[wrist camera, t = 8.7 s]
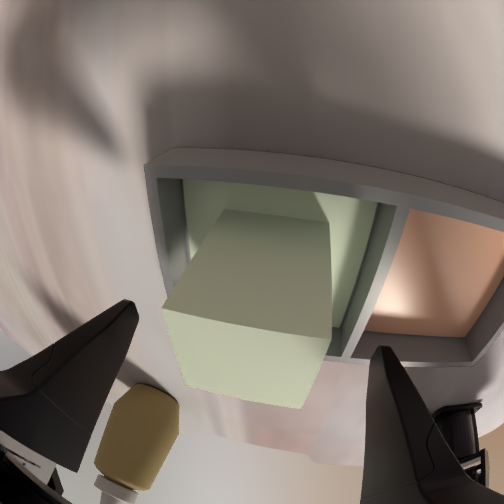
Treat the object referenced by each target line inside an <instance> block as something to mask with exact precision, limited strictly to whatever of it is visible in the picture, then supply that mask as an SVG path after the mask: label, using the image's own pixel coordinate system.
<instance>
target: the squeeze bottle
mask: <svg viewBox="0 0 504 504" xmlns="http://www.w3.org/2000/svg"><path fill="white" fill-rule="evenodd" d="M178 434H179V405H178V403H177V402H176V401H175V400H174V399H173V398H172V397H170V396H169V395H167V394H165V393H164V392H162V391H160V390H158V389H155V388H153V387H150V386H147V385H144V384H136V385H134V386H133V387H132V388H131V389H130V390H128V391H127V392H126V393H125V394H124V395H123V396H122V397H121V398H120V399H118V400H117V401H116V402H115V403H114V406H113V409H112V411H111V414H110V417H109V420H108V422H107V426H106V428H105V431H104V434H103V437H102V440H101V443H100V446H99V449H98V452H97V455H96V458H95V461H94V464H95V466H96V468H97V469H98V470H99V471H100V472H101V473H102V474H103V475H104V476H102V475H98V476H97V479H96V481H95V483H94V485H95V486H96V487H97V488H99V489H100V490H102V494H101V502H100V504H123V503H124V502H128V503H132V504H134V503H135V500H136V498H137V495H138V493H137V492H135V491H133V490H148V489H150V487H151V485H152V483H153V481H154V479H155V478H156V476H157V474H158V472H159V470H160V468H161V466H162V464H163V462H164V461H165V459H166V457H167V455H168V453H169V451H170V449H171V447H172V445H173V443H174V442H175V440H176V438H177V436H178Z"/></svg>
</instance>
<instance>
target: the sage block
mask: <svg viewBox="0 0 504 504" xmlns="http://www.w3.org/2000/svg"><path fill="white" fill-rule="evenodd" d="M162 312H163V315H164V319H165V322H166V326H167V329H168V333H169V336H170V339H171V343H172V346H173V349H174V352H175V355H176V358H177V361H178V364H179V367H180V370H181V373H182V376H183V379H184V382H185V385H186V386H190V387H193V388H197V389H201V390H205V391H209V392H213V393H217V394H221V395H225V396H229V397H234V398H239V399H243V400H248V401H254V402H259V403H264V404H270V405H276V406H283V407H290V408H297V409H301V408H302V406H303V404H304V402H305V400H306V398H307V395H308V393H309V391H310V389H311V387H312V385H313V382H314V380H315V378H316V376H317V373H318V371H319V369H320V366H321V364H322V362H323V359H324V357H325V354H326V352H327V350H328V347H329V345H330V342H331V340H332V270H331V243H330V224H329V223H325V222H318V221H312V220H305V219H298V218H291V217H283V216H276V215H268V214H261V213H253V212H245V211H236V210H228V209H224V210H223V212H222V213H221V215H220V216H219V218H218V219H217V221H216V222H215V224H214V226H213V227H212V229H211V230H210V232H209V233H208V235H207V236H206V238H205V239H204V241H203V242H202V244H201V245H200V247H199V249H198V250H197V252H196V253H195V255H194V256H193V258H192V260H191V261H190V263H189V264H188V266H187V267H186V269H185V271H184V272H183V274H182V275H181V277H180V279H179V280H178V282H177V284H176V285H175V287H174V288H173V290H172V292H171V293H170V295H169V297H168V298H167V300H166V302H165V303H164V305H163V307H162Z"/></svg>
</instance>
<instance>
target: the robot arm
mask: <svg viewBox="0 0 504 504" xmlns="http://www.w3.org/2000/svg"><path fill="white" fill-rule="evenodd" d="M138 321H139V314H138V312H137V309H136V306H135V303H134V302H133V301H130V300H126V299H124V300H122V301H120V302H118V303H117V304H115V305H114V306H112V307H110V308H109V309H107V310H106V311H104V312H102V313H101V314H99V315H98V316H96V317H94V318H93V319H91V320H90V321H88V322H86V323H85V324H83V325H82V326H80V327H78V328H77V329H75V330H74V331H72V332H71V333H69V334H67V335H66V336H64V337H63V338H61V339H60V340H58V341H57V342H55V344H54V343H53V344H52V345H50V346H49V347H47V348H46V349H44V350H42V351H41V352H39V353H37V354H36V355H34V356H32V357H30V358H29V359H27V360H25V361H23V362H21V363H19V364H17V365H15V366H14V367H12V368H10V369H7V370H4V371H0V504H72V503H71V502H69V501H68V500H66V499H65V498H63V497H62V493H63V491H64V490H63V487H62V485H61V482H60V479H59V476H58V473H57V470H56V467H55V466H56V464H59V465H61V466H63V467H65V468H67V469H69V470H71V471H73V472H76V473H77V472H78V470H79V467H80V464H81V461H82V459H83V456H84V453H85V451H86V448H87V445H88V443H89V440H90V438H91V434H92V432H93V430H94V427H95V425H96V422H97V420H98V417H99V415H100V413H101V410H102V408H103V405H104V403H105V401H106V398H107V396H108V394H109V392H110V389H111V387H112V385H113V383H114V380H115V378H116V376H117V374H118V372H119V369H120V367H121V365H122V363H123V361H124V359H125V357H126V354H127V352H128V349H129V346H130V344H131V341H132V338H133V335H134V332H135V330H136V327H137V324H138ZM480 408H482V403H478V404H471V405H464V406H455V407H445V408H442V409H440V410H439V411H437V412H436V413H435V414H434V415H432V416H431V414H430V412H429V410H428V409H427V407H426V405H425V403H424V401H423V400H422V398H421V396H420V394H419V393H418V391H417V389H416V387H415V386H414V384H413V382H412V381H411V379H410V377H409V375H408V374H407V372H406V370H405V369H404V367H403V365H402V364H401V362H400V361H399V359H398V357H397V356H396V354H395V352H394V351H393V349H392V348H391V346H389V345H379V346H378V347H377V349H376V350H375V352H374V354H373V355H372V357H371V359H370V365H369V378H368V388H367V398H366V436H365V456H364V471H363V481H362V491H361V500H360V504H504V495H502V494H500V493H497V492H495V491H493V490H491V489H489V488H488V486H489V458H488V452H487V450H486V449H485V448H484V449H482V450H480V451H479V442H478V433H477V426H476V419H475V412H477V411H478V410H479V409H480ZM478 461H481V464H479V465H476V466H473V467H470V468H467V469H465V470H464V469H463V467H466V466H468V465H471V464H473V463H476V462H478ZM480 472H481V473H480ZM478 473H479V474H478Z"/></svg>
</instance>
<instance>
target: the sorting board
mask: <svg viewBox="0 0 504 504" xmlns="http://www.w3.org/2000/svg"><path fill="white" fill-rule="evenodd" d="M144 171H145V179H146V186H147V193H148V200H149V207H150V213H151V219H152V225H153V230H154V236H155V241H156V247H157V252H158V257H159V262H160V267H161V271H162V276H163V280H164V285H165V289H166V293H167V298H168V297H169V295H170V293H171V292H172V290H173V288H174V287H175V285H176V284H177V282H178V280H179V279H180V277H181V275H182V274H183V272H184V271H185V269H186V267H187V266H188V264H189V263H190V261H191V260H192V258H193V256H194V255H195V253H196V252H197V250H198V249H199V247H200V245H201V244H202V242H203V241H204V239H205V238H206V236H207V235H208V233H209V232H210V230H211V229H212V227H213V226H214V224H215V222H216V221H217V219H218V218H219V216H220V215H221V213H222V212H223V210H224V209H228V210H236V211H245V212H253V213H261V214H268V215H276V216H283V217H291V218H298V219H305V220H312V221H318V222H325V223H329V224H330V243H331V270H332V340H331V342H330V345H329V347H328V350H327V352H326V354H325V357H324V359H323V361H332V362H342V363H353V364H365V365H370V359H371V357H372V355H373V354H374V352H375V350H376V349H377V347H378V346H379V345H389V346H391V348H392V349H393V351H394V352H395V354H396V356H397V357H398V359H399V361H400V362H401V364H402V365H403V367H468V366H474V365H475V364H476V363H477V362H478V360H479V359H480V358H481V357H482V356H483V355H484V353H485V352H486V351H487V350H488V349H489V347H490V346H491V345H492V344H493V342H494V341H495V340H496V339H497V337H498V336H499V335H500V333H501V332H502V331H503V329H504V203H502V202H500V201H497V200H494V199H491V198H488V197H486V196H483V195H480V194H477V193H473V192H470V191H467V190H464V189H461V188H457V187H454V186H450V185H447V184H443V183H440V182H436V181H432V180H429V179H425V178H421V177H417V176H413V175H408V174H404V173H400V172H395V171H391V170H386V169H381V168H376V167H371V166H366V165H360V164H355V163H349V162H343V161H337V160H330V159H323V158H316V157H309V156H301V155H292V154H283V153H274V152H263V151H250V150H235V149H216V148H172V149H170V150H168V151H167V152H165V153H163V154H161V155H160V156H158V157H156V158H154V159H153V160H151V161H149V162H148V163H146V164H144Z"/></svg>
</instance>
